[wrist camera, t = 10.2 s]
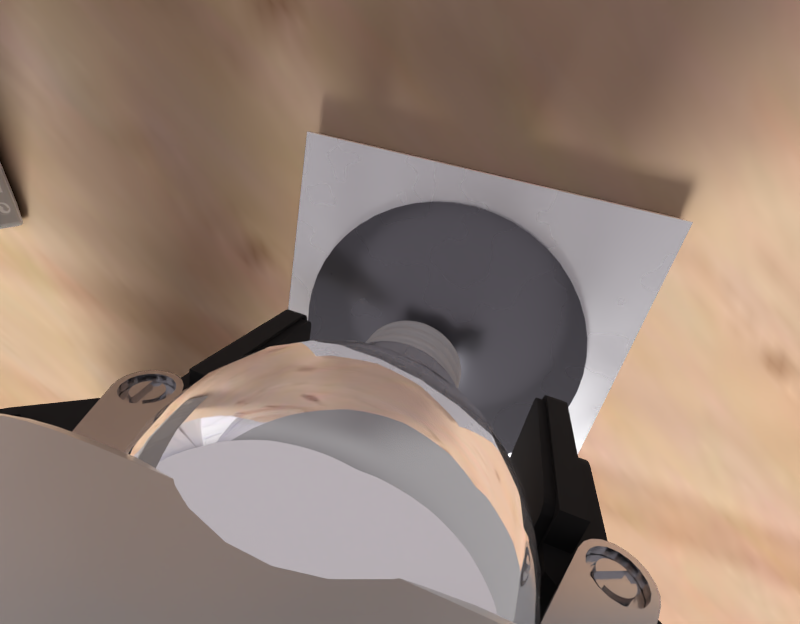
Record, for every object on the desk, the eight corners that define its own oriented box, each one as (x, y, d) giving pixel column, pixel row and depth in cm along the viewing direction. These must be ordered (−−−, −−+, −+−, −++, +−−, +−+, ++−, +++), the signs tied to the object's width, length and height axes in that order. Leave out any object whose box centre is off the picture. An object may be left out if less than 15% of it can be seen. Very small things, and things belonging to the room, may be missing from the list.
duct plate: (543, 501, 17) (545, 526, 16) (288, 406, 19) (272, 421, 18) (680, 218, 12) (697, 223, 11) (320, 133, 14) (302, 130, 13)
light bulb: (329, 244, 14) (-301, 478, 3) (535, 268, 13) (762, 861, 2) (327, 415, 16) (-38, 906, 5) (501, 450, 15) (502, 1219, 4)
